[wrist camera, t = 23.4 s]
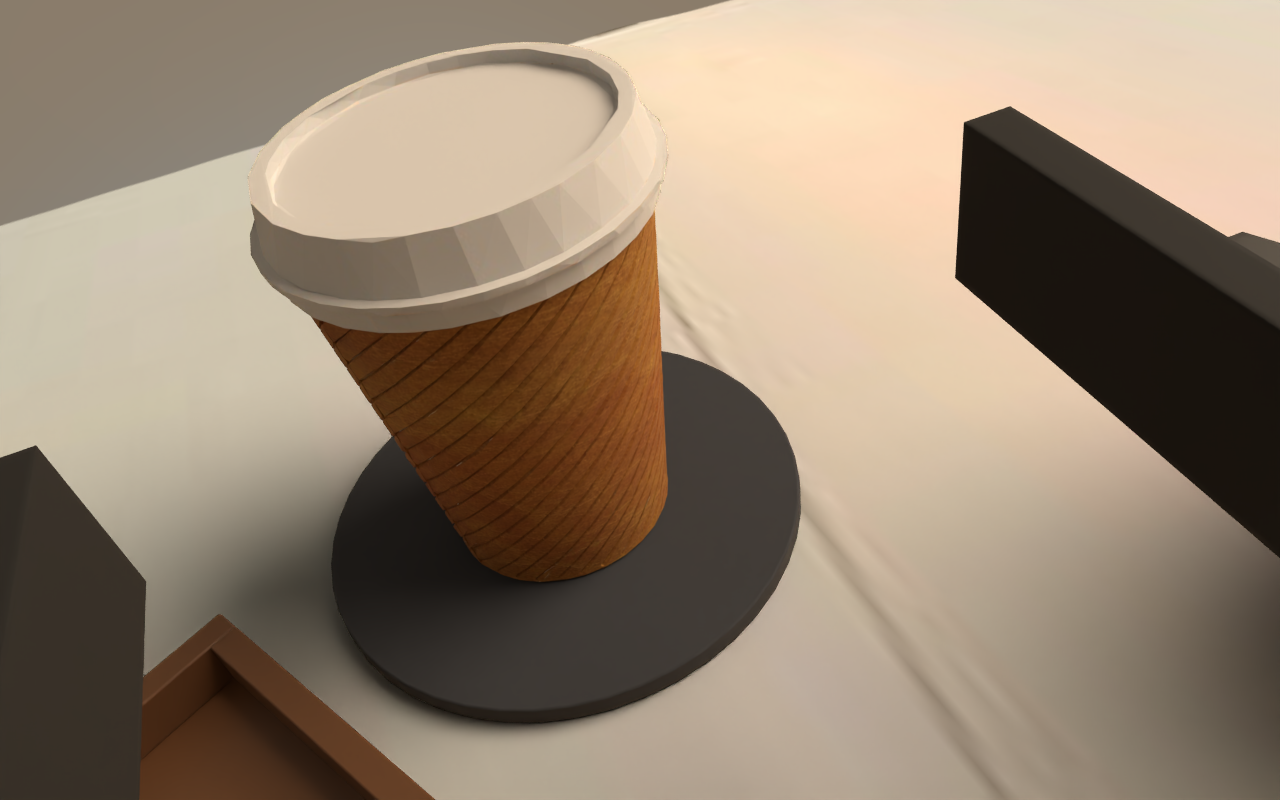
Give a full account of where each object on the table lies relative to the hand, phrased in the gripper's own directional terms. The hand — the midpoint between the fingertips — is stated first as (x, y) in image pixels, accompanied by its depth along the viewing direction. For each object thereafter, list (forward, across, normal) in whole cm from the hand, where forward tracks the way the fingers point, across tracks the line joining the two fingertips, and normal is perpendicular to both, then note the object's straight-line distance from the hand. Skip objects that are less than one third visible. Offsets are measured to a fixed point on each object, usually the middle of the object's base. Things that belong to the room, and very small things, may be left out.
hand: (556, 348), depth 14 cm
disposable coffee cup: (+10, 0, -13) cm, 16 cm away
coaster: (+10, 0, -13) cm, 16 cm away
